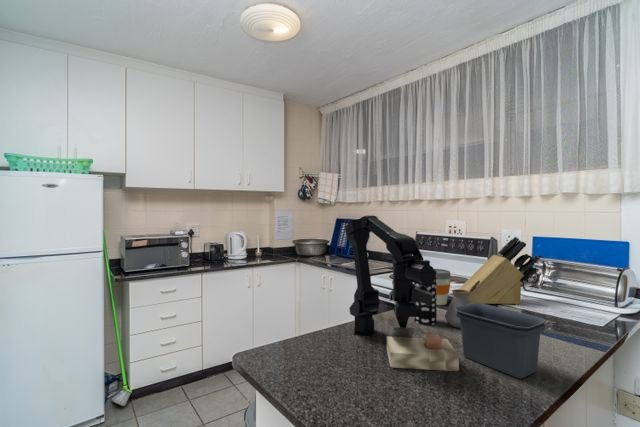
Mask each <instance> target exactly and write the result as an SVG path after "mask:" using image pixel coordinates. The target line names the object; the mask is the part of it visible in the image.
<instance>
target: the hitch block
mask: <svg viewBox="0 0 640 427" xmlns="http://www.w3.org/2000/svg"><path fill="white" fill-rule="evenodd" d="M441 339H442V350H441V349H427V348H426V346H425V344H424V337H412V338H397V337H392V335H391V336H390V335H389V336H386V353H387V357H388V362H389V367H390V368H396V369H397V368H398V369H400V368H401V369H413V370H431V371H447V372H448V371H449V372H451V371H452V372H459V371H460V366H459V365H460V355H459V354H458V353H457V351H456V350H455V349H454V347H453V346H452V344H451V342H450V341H449V340H448V339H447V338H441Z"/></svg>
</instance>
